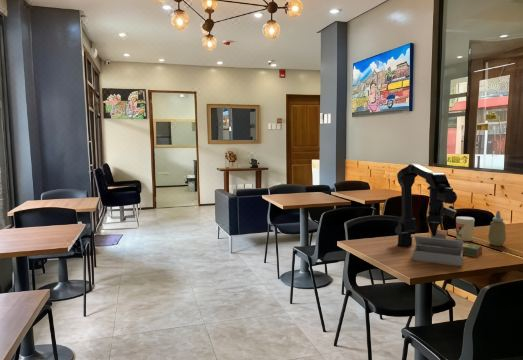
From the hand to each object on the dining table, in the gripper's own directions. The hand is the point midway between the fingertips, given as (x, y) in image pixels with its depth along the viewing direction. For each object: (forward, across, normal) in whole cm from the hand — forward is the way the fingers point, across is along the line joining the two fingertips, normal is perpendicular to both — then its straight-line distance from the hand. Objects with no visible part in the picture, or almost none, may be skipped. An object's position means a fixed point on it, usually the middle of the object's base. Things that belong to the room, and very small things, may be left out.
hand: (434, 233), depth 179 cm
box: (+12, 0, -2) cm, 12 cm away
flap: (+4, +1, -2) cm, 5 cm away
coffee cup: (+12, +47, -13) cm, 51 cm away
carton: (+13, +19, -12) cm, 26 cm away
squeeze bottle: (+12, +41, -28) cm, 51 cm away
